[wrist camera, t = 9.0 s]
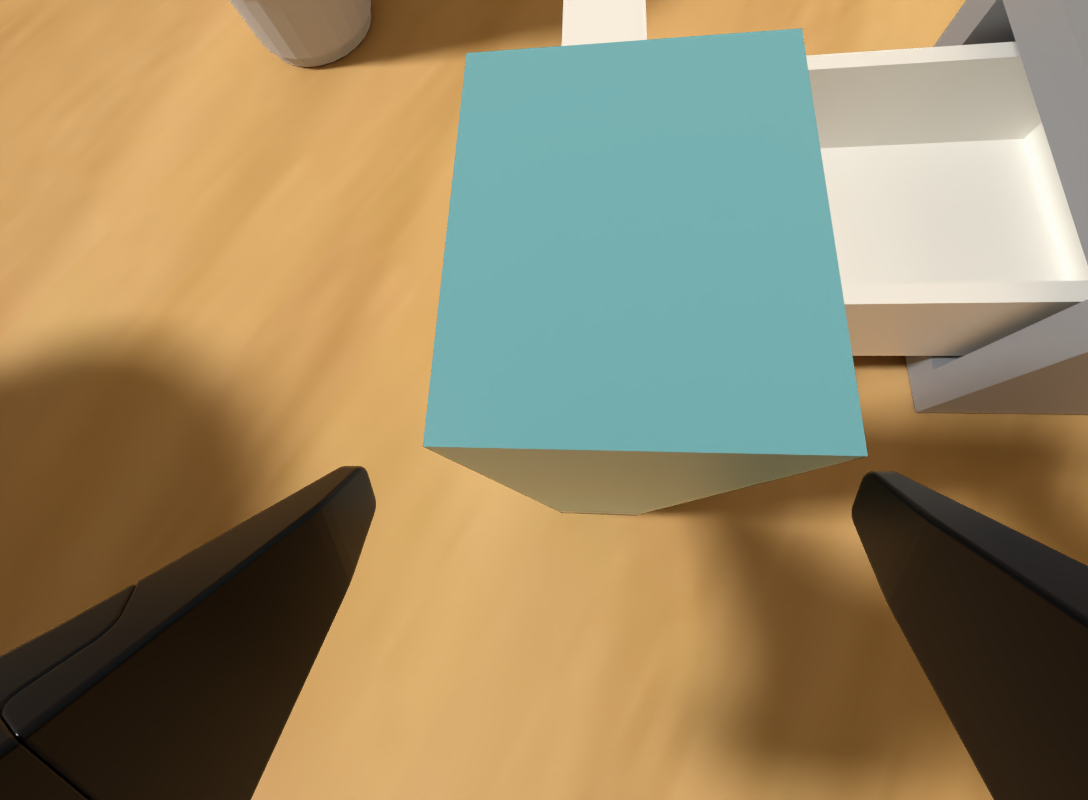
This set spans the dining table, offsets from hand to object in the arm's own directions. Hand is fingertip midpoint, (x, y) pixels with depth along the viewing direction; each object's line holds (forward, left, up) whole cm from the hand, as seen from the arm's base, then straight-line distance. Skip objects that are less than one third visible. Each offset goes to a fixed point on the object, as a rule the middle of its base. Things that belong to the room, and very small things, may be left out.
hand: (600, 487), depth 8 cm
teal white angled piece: (0, -11, -7) cm, 13 cm away
